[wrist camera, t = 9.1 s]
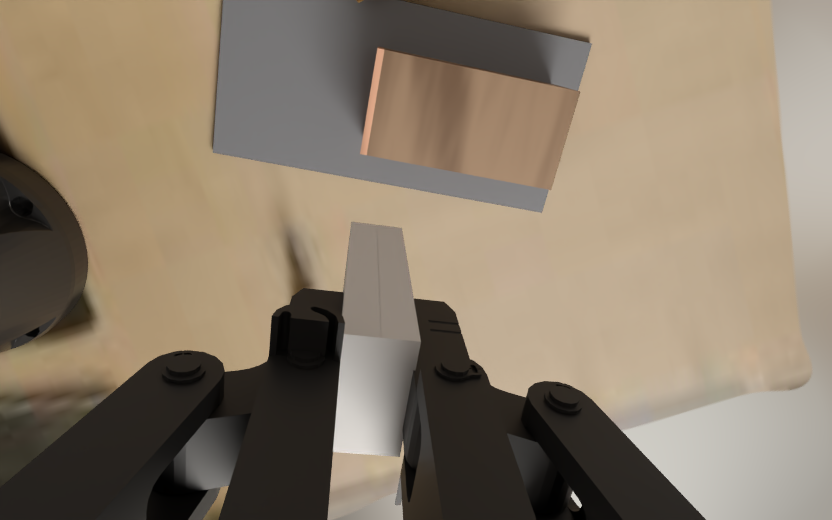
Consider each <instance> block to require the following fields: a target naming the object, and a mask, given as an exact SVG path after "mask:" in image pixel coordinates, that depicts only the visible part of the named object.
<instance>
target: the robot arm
mask: <svg viewBox="0 0 832 520" xmlns="http://www.w3.org/2000/svg"><path fill="white" fill-rule="evenodd" d="M87 272H88V257H87V250H86V245H85V241H84V238H83V234H82V232H81V229H80V227H79V225H78V223H77V221H76V219H75V217H74V215H73V213H72V212H71V210H70V209H69V207H68V206H67V204H66V203H65V202H64V200H63V199H62V198H61V197H60V195H59V194H58V193H57V192H56V191H55V190H54V189H53V188H52V187H51V186H50V185H49V184H48V183H47V182H46V181H45V180H44V179H42V178H41V177H40V176H39V175H38V174H36V173H35V172H34V171H32V170H31V169H29V168H28V167H26V166H25V165H23V164H22V163H20V162H18V161H16V160H15V159H13V158H11V157H9V156H7V155H5V154H2V153H0V352H4V351H7V350H10V349H12V348H16V347H19V346H22V345H24V344H27V343H29V342H31V341H33V340H35V339H37V338H38V337H40V336H42V335H43V334H45V333H46V332H48V331H49V330H50V329H51V328H52V327H54V326H55V325H56V324H57V323H58V322H59V321H61V320H62V319H63V318H64V317H65V316H66V315H67V314H68V313H69V312H70V311H71V310H72V309H73V307H74V306H75V305H76V303H77V302H78V300H79V298H80V296H81V294H82V292H83V290H84V287H85V283H86V279H87ZM458 324H459V323H458V320H457V317H456V313H455V312H454V311H453V310H452V309H451V308H450V307H449V306H448V305H447V304H446V303H445V302H440V301H431V300H422V299H414V298H413V292H412V286H411V280H410V274H409V268H408V262H407V256H406V250H405V244H404V238H403V232H402V228H398V227H390V226H382V225H374V224H366V223H358V222H351V230H350V238H349V246H348V254H347V263H346V271H345V279H344V288H343V292H334V291H325V290H316V289H306V288H303V289H302V290H300V291H299V292H298V293H296V294H295V295H294V296H292V299H291V302H290V305H286V306H284V307H282V308H280V309H277V310H276V311H275V313H274V314H273V315H272V321H271V335H270V350H269V357H268V360H267V362H265V363H263V364H261V365H259V366H256V367H253V368H250V369H245V370H239V371H229V372H225V371H224V366H223V363H222V362H221V361H220V360H219V359H218V358H216V357H215V356H213V355H210V354H207V353H205V352H198V351H176V352H171V353H168V354H165V355H161V356H159V357H157V358H155V359H153V360H152V361H150V362H148V363H147V364H146V365H145V366H143V367H142V368H141V369H140V370H139V371H138V372H136V373H135V374H134V375H133V376H132V377H130V378H129V379H128V380H127V381H126V382H125V383H123V384H122V385H121V386H120V387H119V388H117V389H116V390H115V391H114V392H113V393H112V394H110V395H109V396H108V397H107V398H106V399H104V400H103V401H102V402H101V403H100V404H99V405H97V406H96V407H95V408H94V409H93V410H91V411H90V412H89V413H88V414H87V415H86V416H84V417H83V418H82V419H81V420H80V421H78V422H77V423H76V424H75V425H74V426H73V427H71V428H70V429H69V430H68V431H67V432H65V433H64V434H63V435H62V436H61V437H59V438H58V439H57V440H56V441H55V442H54V443H52V444H51V445H50V446H49V447H48V448H46V449H45V450H44V451H43V452H42V453H41V454H39V455H38V456H37V457H36V458H35V459H33V460H32V461H31V462H30V463H29V464H28V465H26V466H25V467H24V468H23V469H22V470H20V471H19V472H18V473H17V474H16V475H15V476H13V477H12V478H11V479H10V480H9V481H7V482H6V483H5V484H4V485H3V486H2V487H0V520H202V519H203V518H204V516H205V515H206V513H207V512H208V510H209V509H210V507H211V506H212V504H213V503H214V501H215V500H216V498H217V496H218V493H219V490H220V487H224V486H229V487H228V491H227V494H226V497H225V500H224V504H223V507H222V510H221V513H220V517H219V520H327V516H328V504H329V492H330V480H331V468H332V456H333V452H340V453H355V454H369V455H383V456H398V457H400V452H401V447H402V441H403V443H404V459H403V464H402V469H401V475H400V480H399V485H398V490H397V496H396V501H395V505H400V504H401V500H402V506H403V520H706V519H705V518H704V517H703V516H702V515H701V514H700V513H699V512H698V511H697V510H696V509H695V508H694V507H693V506H692V505H691V504H690V502H688V500H687V499H686V498H685V497H684V496H683V495H682V494H681V493H680V492H679V491H678V490H677V489H676V488H675V487H674V486H673V485H672V484H671V483H670V482H669V480H668V479H667V478H666V477H665V476H664V475H663V474H662V473H661V472H660V471H659V470H658V469H657V468H656V467H655V466H654V465H653V464H652V462H650V460H649V459H648V458H647V457H646V456H645V455H644V454H643V453H642V452H641V451H640V450H639V449H638V448H637V447H636V446H635V445H634V444H633V443H632V441H631V440H630V439H629V438H628V437H627V436H626V435H625V434H624V433H623V432H622V431H621V430H620V429H619V428H618V427H617V426H616V425H615V424H614V422H613V421H612V420H611V419H610V418H609V417H608V416H607V415H606V414H605V413H604V412H603V411H602V410H601V409H600V408H599V407H598V406H597V405H596V404H595V403H594V401H593V400H592V399H590V398H589V397H588V396H587V395H585V394H584V393H583V392H581V391H579V390H577V389H575V388H573V387H572V386H570V385H567V384H562V383H560V382H548V381H543V382H539V383H535V384H533V385H532V386H531V387H530V388H529V389H528V393H527V396H526V398H525V397H522V396H518V395H515V394H511V393H508V392H505V391H502V390H499V389H497V388H495V387H493V386H491V385H490V382H489V379H488V376H487V374H486V373H485V371H484V369H483V368H482V367H481V366H480V365H478V364H477V363H476V362H474V361H473V360H470V359H469V355H468V352H467V349H466V346H465V342H464V339H463V336H462V334H461V329H460V326H459V325H458ZM572 491H574V493H575V494H576V496H577V497H578V498H579V500H580V502H581V504H582V507H581V508H579V507H578V506H577V505H576V503H575V502H574V500H573V499H572V498H571V494H572Z"/></svg>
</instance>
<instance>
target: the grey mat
mask: <svg viewBox="0 0 832 520" xmlns="http://www.w3.org/2000/svg"><path fill="white" fill-rule="evenodd" d="M591 45H592V44H591V43H587V42H582V41H578V40H574V39H569V38H565V37H560V36H556V35H551V34H547V33H543V32H538V31H534V30H529V29H525V28H521V27H516V26H512V25H507V24H503V23H498V22H494V21H490V20H485V19H481V18H476V17H472V16H467V15H463V14H459V13H454V12H450V11H445V10H441V9H437V8H432V7H428V6H423V5H419V4H414V3H410V2H406V1H401V0H363V1H362V2H360V3H358V2H357V1H356V0H223V9H222V24H221V39H220V54H219V68H218V83H217V98H216V113H215V128H214V143H213V153H218V154H223V155H229V156H234V157H240V158H245V159H251V160H256V161H262V162H267V163H273V164H278V165H284V166H289V167H295V168H300V169H306V170H311V171H317V172H322V173H327V174H333V175H338V176H344V177H349V178H355V179H360V180H366V181H371V182H377V183H382V184H388V185H393V186H399V187H404V188H410V189H415V190H420V191H426V192H431V193H437V194H442V195H448V196H453V197H459V198H464V199H470V200H475V201H481V202H486V203H492V204H497V205H503V206H508V207H513V208H519V209H524V210H530V211H535V212H541V213H542V211H543V207H544V204H545V200H546V197H547V194H548V189H543V188H537V187H532V186H527V185H521V184H516V183H511V182H505V181H500V180H495V179H490V178H484V177H479V176H474V175H468V174H463V173H458V172H452V171H447V170H442V169H437V168H431V167H426V166H421V165H415V164H410V163H405V162H399V161H394V160H389V159H384V158H378V157H373V156H368V155H362V154H360V151H361V145H362V139H363V133H364V127H365V121H366V115H367V108H368V102H369V96H370V90H371V84H372V78H373V72H374V66H375V60H376V54H377V48H378V47H382V48H387V49H392V50H396V51H401V52H406V53H410V54H415V55H420V56H424V57H429V58H434V59H438V60H443V61H448V62H452V63H457V64H462V65H466V66H471V67H476V68H480V69H485V70H490V71H494V72H499V73H504V74H508V75H513V76H518V77H522V78H527V79H532V80H536V81H541V82H546V83H550V84H554V85H558V86H562V87H565V88H569V89H573V90H576V91H578V89H579V86H580V82H581V79H582V75H583V72H584V69H585V65H586V62H587V59H588V55H589V52H590V48H591Z"/></svg>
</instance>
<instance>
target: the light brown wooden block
mask: <svg viewBox="0 0 832 520" xmlns="http://www.w3.org/2000/svg"><path fill="white" fill-rule="evenodd" d="M579 94H580V91H576V90H573V89H569V88H565V87H562V86H558V85H554V84H550V83H546V82H541V81H536V80H532V79H527V78H522V77H518V76H513V75H508V74H504V73H499V72H494V71H490V70H485V69H480V68H476V67H471V66H466V65H462V64H457V63H452V62H448V61H443V60H438V59H434V58H429V57H424V56H420V55H415V54H410V53H406V52H401V51H396V50H392V49H387V48H382V47H378V48H377V54H376V60H375V66H374V72H373V78H372V84H371V90H370V96H369V102H368V108H367V115H366V121H365V127H364V133H363V139H362V145H361V151H360V154H362V155H368V156H373V157H378V158H384V159H389V160H394V161H399V162H405V163H410V164H415V165H421V166H426V167H431V168H437V169H442V170H447V171H452V172H458V173H463V174H468V175H474V176H479V177H484V178H490V179H495V180H500V181H505V182H511V183H516V184H521V185H527V186H532V187H537V188H543V189H548V190H551V188H552V185H553V182H554V178H555V175H556V172H557V168H558V165H559V162H560V158H561V155H562V151H563V148H564V145H565V141H566V138H567V135H568V131H569V128H570V125H571V121H572V118H573V115H574V111H575V108H576V104H577V101H578V98H579Z"/></svg>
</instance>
